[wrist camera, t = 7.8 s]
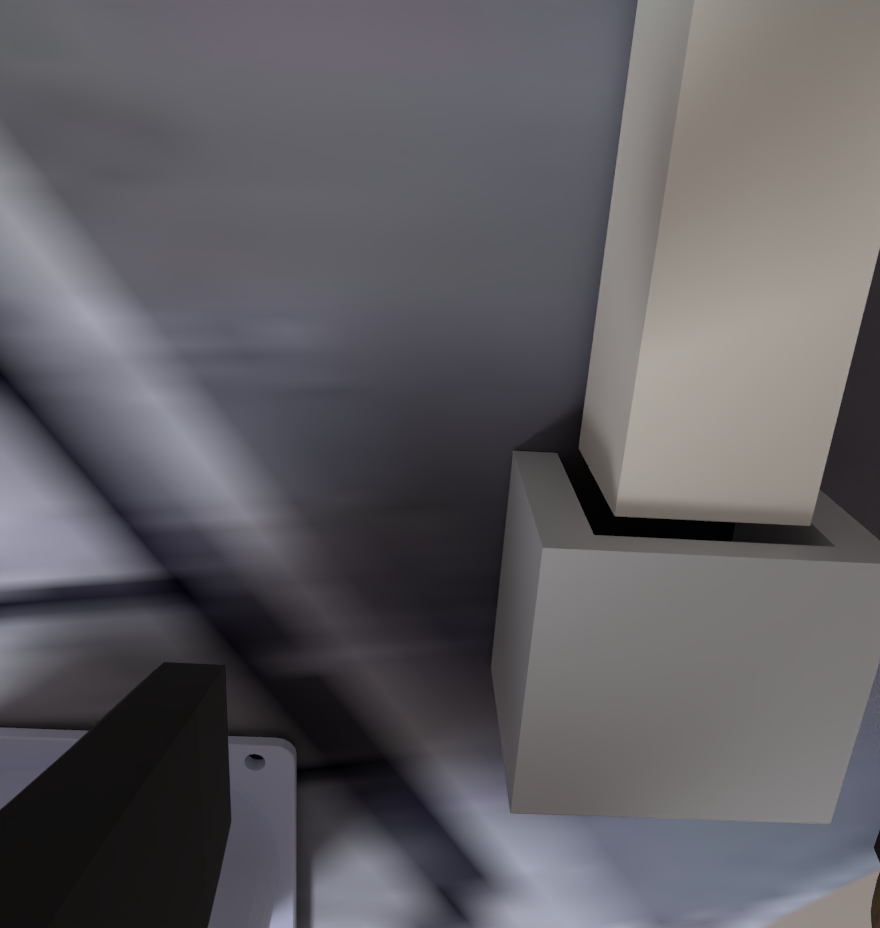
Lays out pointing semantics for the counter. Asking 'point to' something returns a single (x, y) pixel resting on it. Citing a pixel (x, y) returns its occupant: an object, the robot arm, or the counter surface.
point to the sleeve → (679, 661)
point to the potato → (876, 906)
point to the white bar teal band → (735, 257)
